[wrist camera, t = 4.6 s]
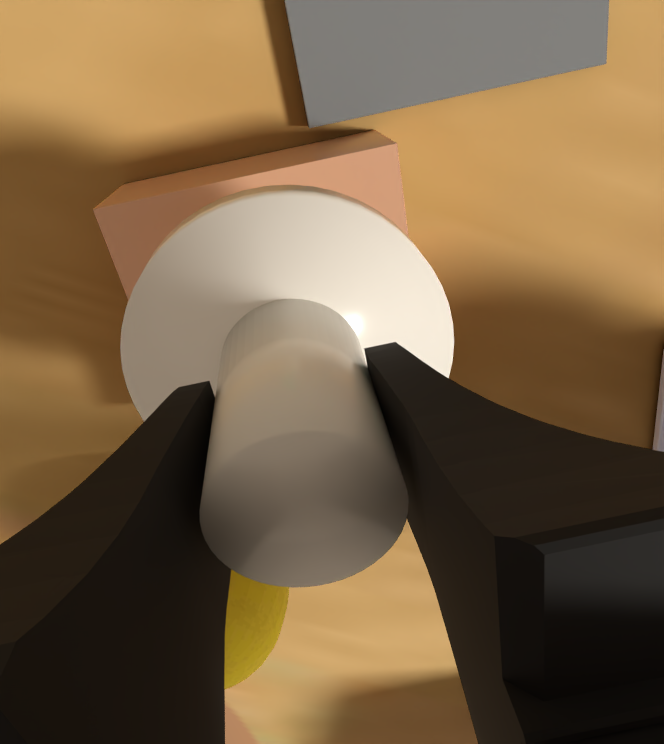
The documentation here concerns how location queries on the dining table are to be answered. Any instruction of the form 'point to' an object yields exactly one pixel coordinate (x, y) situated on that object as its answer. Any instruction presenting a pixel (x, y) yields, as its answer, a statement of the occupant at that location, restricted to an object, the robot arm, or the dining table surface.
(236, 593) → the lemon
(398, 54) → the mat
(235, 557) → the lid
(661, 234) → the dining table surface
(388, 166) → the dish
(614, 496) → the robot arm
